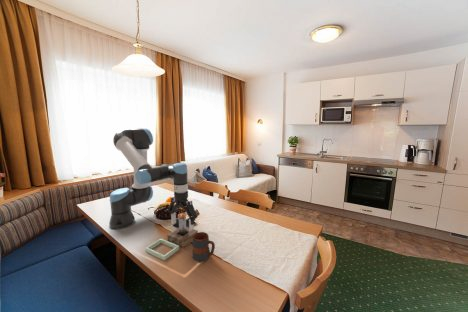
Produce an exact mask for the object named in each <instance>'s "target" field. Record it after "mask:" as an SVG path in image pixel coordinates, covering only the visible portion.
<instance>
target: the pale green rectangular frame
mask: <svg viewBox="0 0 468 312" xmlns="http://www.w3.org/2000/svg"><path fill="white" fill-rule="evenodd" d="M160 244H163V245H165V246H167V247H169V248H172V249H171V250H170V251H168V252H167V253H166V254H163V253H161V252H158V251H156V250H154V248H155V247H157V246H158V245H160ZM179 250H180V246H178V245H176V244H173V243H171V242H168V240H167V239H166V240H165V239H163V238H159V239H158V240H156V241H154V242H152V243H150V245H148V246H146V247H145V250H144V251H145V253H148V254H149V255H152V256H153V257H156V258H158V259H160V260H163V261H166V260H167V259H168V258H170V257H171V256H172V255H174V254H175V253H176V252H177V251H179Z"/></svg>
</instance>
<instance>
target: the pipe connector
mask: <svg viewBox="0 0 468 312" xmlns="http://www.w3.org/2000/svg"><path fill="white" fill-rule="evenodd" d="M189 219H190V218H189V217H188V218H186V227H188V228H189ZM194 224H196V218H195V219H194ZM172 226H173V227H176V229H178V228H179V218H176V223H175V224H173V225H172Z"/></svg>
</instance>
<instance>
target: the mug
mask: <svg viewBox="0 0 468 312" xmlns="http://www.w3.org/2000/svg"><path fill="white" fill-rule="evenodd" d="M209 238H210V237H209V234H208V233H207V232H205V231H198V233H196V234H194V235H193V241H192V259H193V260H194V261H196V262H197V263H204V262H206V261H208V259H209V258H210V257H211V256H213V255H214V252H215V250H216V245H215V242H214V241H213V240H210V239H209ZM209 244H210V245H211V249H210V245H209Z"/></svg>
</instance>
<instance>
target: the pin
mask: <svg viewBox="0 0 468 312" xmlns="http://www.w3.org/2000/svg"><path fill="white" fill-rule="evenodd" d="M177 219H179V235H181V236H184V235H186V219H187V213H186V212H180V213H178V214H177Z"/></svg>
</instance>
